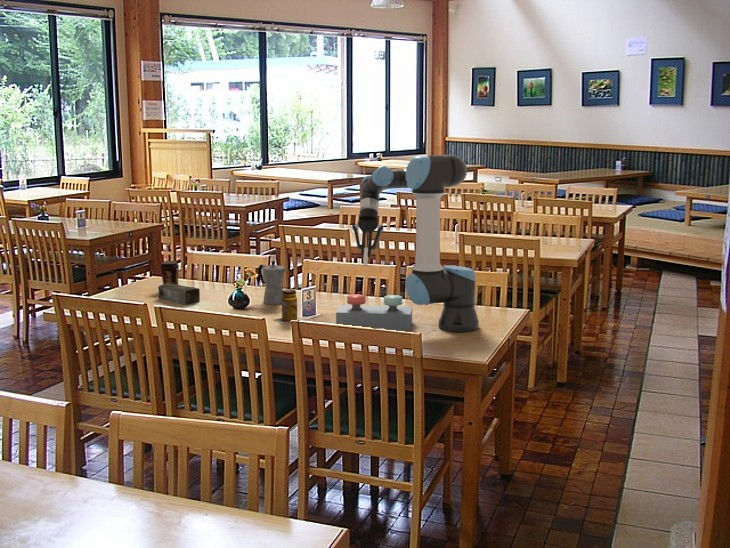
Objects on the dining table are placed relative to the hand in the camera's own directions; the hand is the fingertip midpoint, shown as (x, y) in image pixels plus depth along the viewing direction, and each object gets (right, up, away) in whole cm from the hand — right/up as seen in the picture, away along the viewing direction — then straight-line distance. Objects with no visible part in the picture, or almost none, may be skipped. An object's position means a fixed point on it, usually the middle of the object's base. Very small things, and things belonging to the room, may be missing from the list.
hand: (365, 264), depth 323 cm
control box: (+4, -23, -10) cm, 26 cm away
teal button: (+11, -21, -11) cm, 26 cm away
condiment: (-30, -22, -3) cm, 38 cm away
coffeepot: (-40, -16, +28) cm, 51 cm away
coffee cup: (-89, -11, +50) cm, 103 cm away
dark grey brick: (-80, -16, +31) cm, 88 cm away
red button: (-3, -20, -10) cm, 23 cm away
